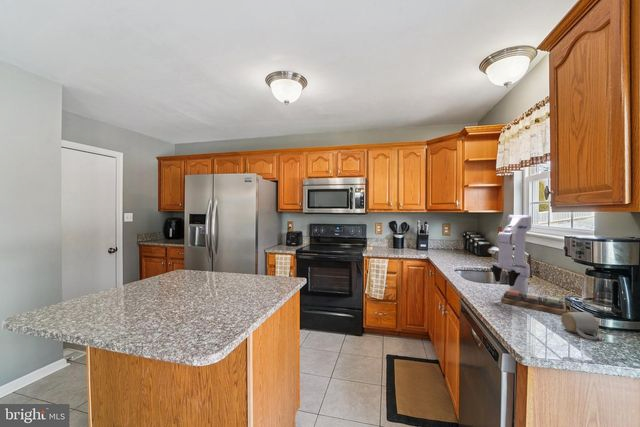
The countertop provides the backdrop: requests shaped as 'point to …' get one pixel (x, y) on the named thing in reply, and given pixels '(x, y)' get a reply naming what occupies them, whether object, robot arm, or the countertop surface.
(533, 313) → the countertop surface
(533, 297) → the cream button
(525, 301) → the button panel
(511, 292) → the terracotta button
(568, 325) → the ceramic mug
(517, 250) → the robot arm
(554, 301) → the sage button
